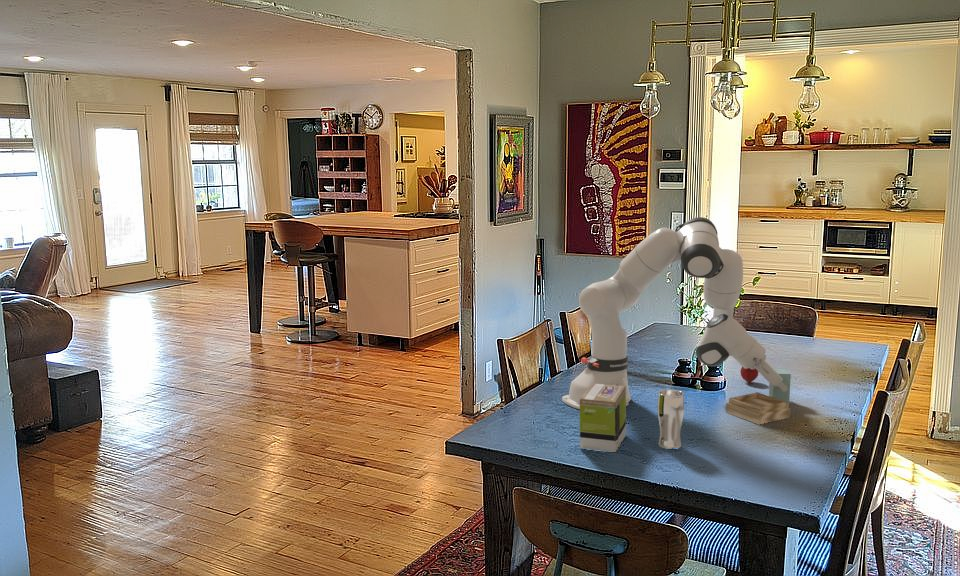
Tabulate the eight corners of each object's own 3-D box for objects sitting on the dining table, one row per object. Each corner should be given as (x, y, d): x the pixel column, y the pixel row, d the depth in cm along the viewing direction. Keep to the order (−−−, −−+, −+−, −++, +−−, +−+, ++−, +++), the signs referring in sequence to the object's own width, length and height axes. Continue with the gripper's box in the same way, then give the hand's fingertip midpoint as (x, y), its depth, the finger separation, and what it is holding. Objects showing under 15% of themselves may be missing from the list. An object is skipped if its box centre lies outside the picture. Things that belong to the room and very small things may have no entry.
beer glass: (651, 446, 214) (652, 393, 211) (665, 439, 218) (667, 387, 216) (673, 452, 209) (675, 398, 206) (687, 445, 213) (689, 392, 211)
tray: (758, 424, 229) (759, 410, 228) (725, 412, 240) (726, 398, 239) (790, 417, 235) (791, 402, 234) (756, 405, 246) (757, 391, 245)
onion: (758, 385, 267) (760, 362, 265) (741, 384, 268) (742, 362, 267) (756, 380, 272) (757, 358, 271) (739, 380, 274) (740, 357, 272)
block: (772, 404, 247) (774, 373, 245) (768, 399, 252) (770, 369, 250) (789, 404, 246) (790, 374, 245) (784, 399, 251) (786, 369, 250)
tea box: (591, 431, 225) (592, 381, 223) (626, 435, 222) (627, 385, 219) (578, 450, 212) (579, 397, 209) (615, 454, 208) (616, 401, 206)
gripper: (766, 356, 237) (798, 388, 237) (751, 340, 257) (781, 370, 257) (750, 370, 238) (782, 402, 238) (736, 353, 258) (766, 382, 258)
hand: (781, 385), depth 248 cm, fingers open, 8 cm apart
